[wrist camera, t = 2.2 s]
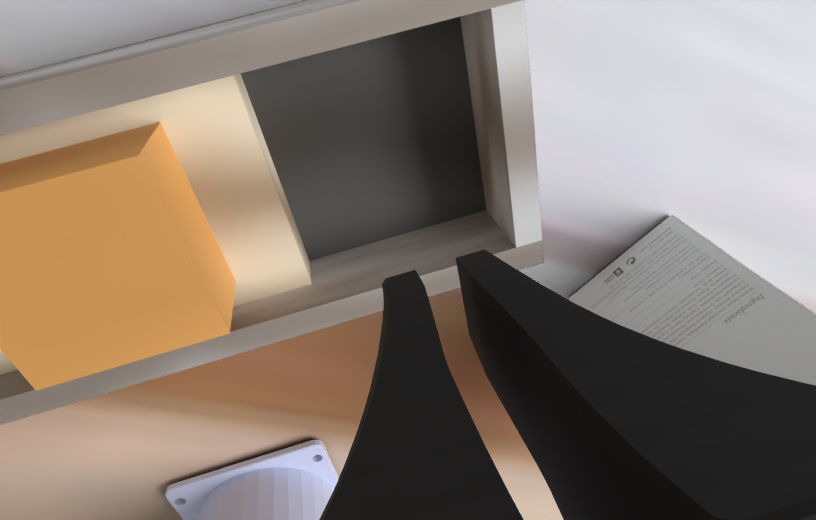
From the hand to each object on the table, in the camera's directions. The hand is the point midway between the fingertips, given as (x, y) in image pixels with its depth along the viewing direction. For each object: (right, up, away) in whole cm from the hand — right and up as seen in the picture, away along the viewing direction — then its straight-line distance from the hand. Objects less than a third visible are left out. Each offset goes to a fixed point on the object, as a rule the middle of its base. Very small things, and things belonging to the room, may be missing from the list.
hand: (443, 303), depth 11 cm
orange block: (-10, +2, +6) cm, 12 cm away
